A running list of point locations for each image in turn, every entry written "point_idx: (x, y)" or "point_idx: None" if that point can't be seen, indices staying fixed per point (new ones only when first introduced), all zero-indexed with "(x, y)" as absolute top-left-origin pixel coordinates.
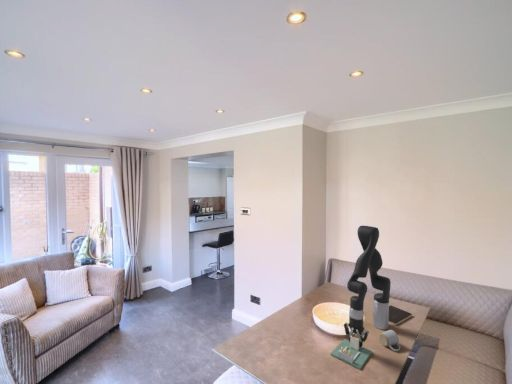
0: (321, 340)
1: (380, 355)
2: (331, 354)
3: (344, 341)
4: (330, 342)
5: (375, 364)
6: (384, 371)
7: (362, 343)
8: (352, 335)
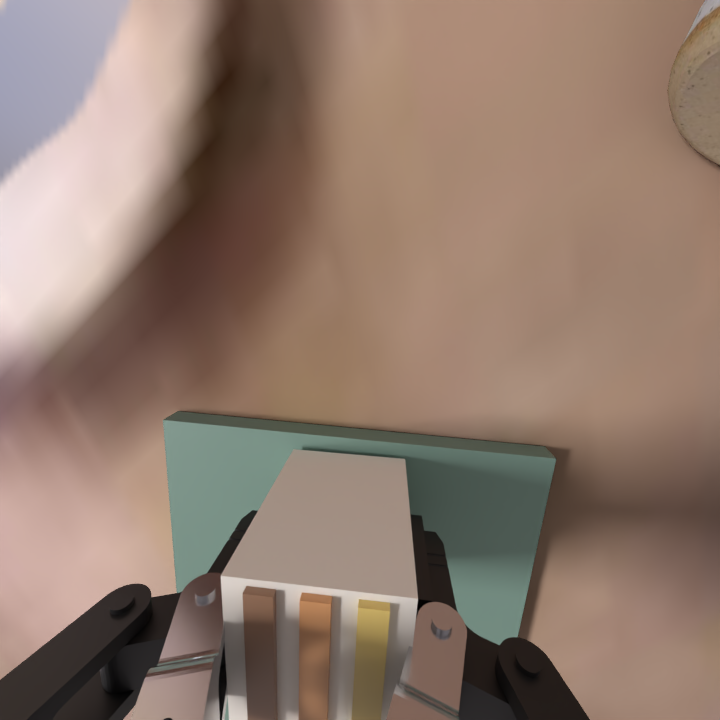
0: (13, 558)
1: (656, 439)
2: None
3: (192, 474)
4: (92, 538)
5: (610, 622)
6: (710, 673)
7: (448, 581)
8: (244, 676)
